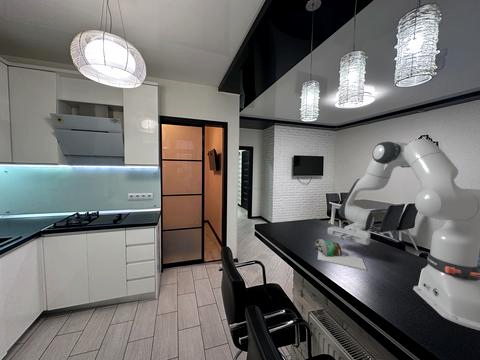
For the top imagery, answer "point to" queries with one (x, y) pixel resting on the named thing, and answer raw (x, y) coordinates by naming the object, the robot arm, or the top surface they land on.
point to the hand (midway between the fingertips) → (342, 237)
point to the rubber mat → (343, 260)
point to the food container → (328, 247)
